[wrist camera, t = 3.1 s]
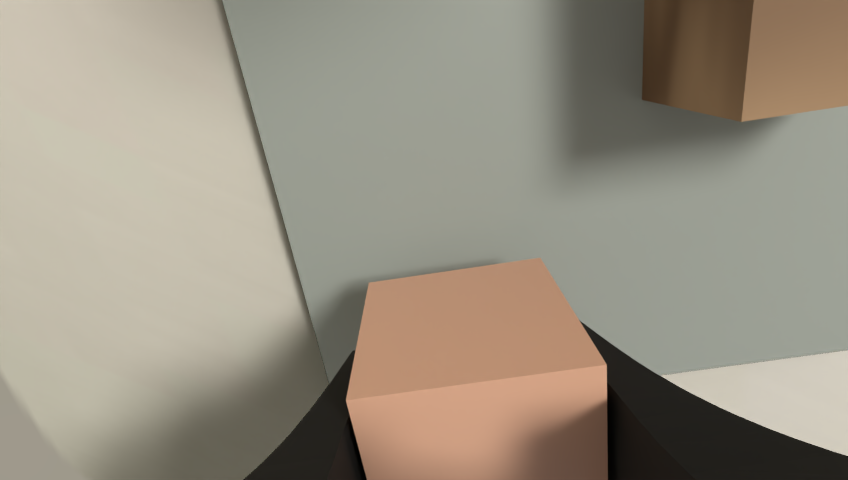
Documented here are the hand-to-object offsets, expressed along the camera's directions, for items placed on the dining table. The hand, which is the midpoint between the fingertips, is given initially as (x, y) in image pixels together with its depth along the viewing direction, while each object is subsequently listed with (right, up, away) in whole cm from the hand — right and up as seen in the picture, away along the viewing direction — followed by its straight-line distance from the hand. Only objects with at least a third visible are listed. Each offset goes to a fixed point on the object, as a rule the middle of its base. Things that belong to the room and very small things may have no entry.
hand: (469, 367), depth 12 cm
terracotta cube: (0, 0, +1) cm, 1 cm away
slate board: (+3, +6, +1) cm, 7 cm away
